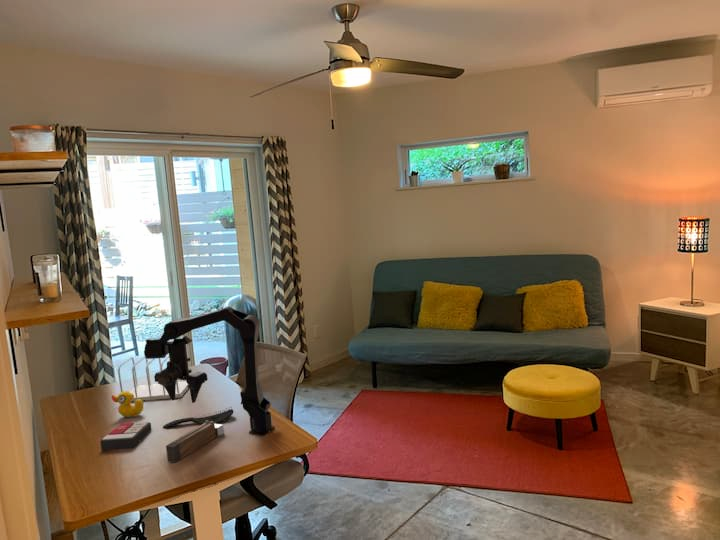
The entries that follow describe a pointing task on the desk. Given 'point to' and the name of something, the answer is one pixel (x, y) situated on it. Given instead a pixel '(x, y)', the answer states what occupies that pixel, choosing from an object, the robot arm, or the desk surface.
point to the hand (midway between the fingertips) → (183, 401)
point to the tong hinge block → (219, 429)
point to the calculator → (125, 436)
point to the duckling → (128, 404)
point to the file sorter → (152, 385)
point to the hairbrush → (203, 419)
